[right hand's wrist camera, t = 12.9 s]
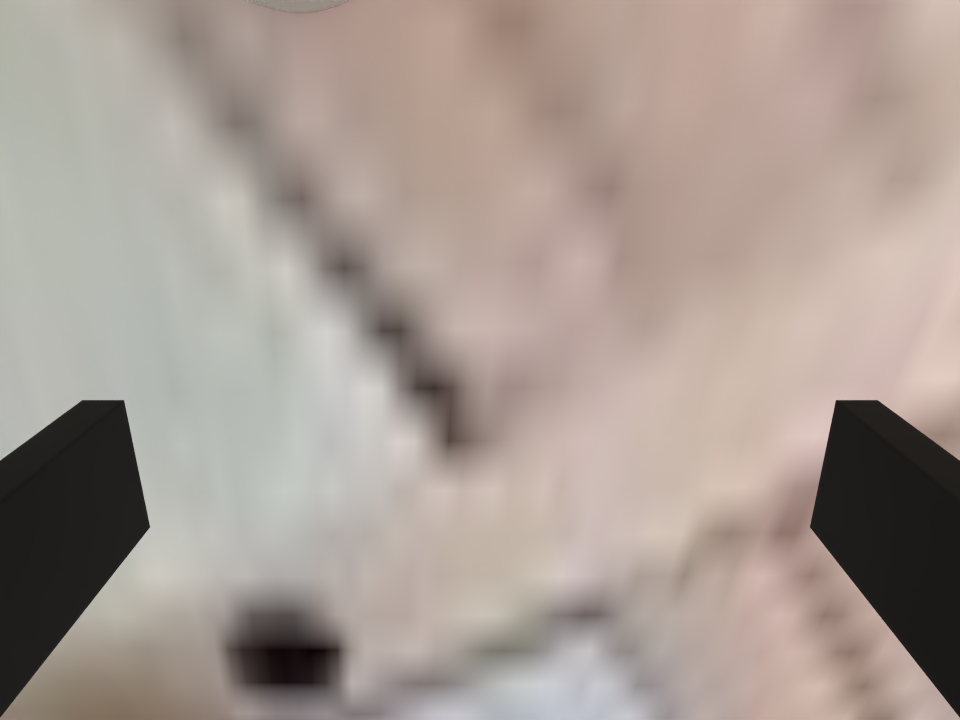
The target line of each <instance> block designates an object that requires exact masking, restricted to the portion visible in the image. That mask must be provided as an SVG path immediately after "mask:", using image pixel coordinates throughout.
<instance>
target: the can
mask: <svg viewBox="0 0 960 720" xmlns="http://www.w3.org/2000/svg"><path fill="white" fill-rule="evenodd" d="M247 1H250V2H253V3H256V4H258V5H261V6H264V7H267V8H271V9H275V10H279V11H286V12H294V13H298V12H314V11H320V10H325V9H328V8H331V7H334V6H337V5H340V4H342V3H344V2H346V1H348V0H247Z"/></svg>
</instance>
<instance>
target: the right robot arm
mask: <svg viewBox="0 0 960 720" xmlns="http://www.w3.org/2000/svg"><path fill="white" fill-rule="evenodd" d="M149 528H150V525H149V520H148V515H147V510H146V505H145V500H144V496H143V491H142V486H141V481H140V476H139V471H138V466H137V462H136V457H135V452H134V447H133V442H132V437H131V432H130V427H129V423H128V418H127V413H126V408H125V403H124V400H82V401H81V402H79V403H78V404H77V405H75V406H74V407H73V408H71V409H70V410H69V411H67V412H66V413H64V414H63V415H62V416H60V417H59V418H58V419H56V420H55V421H54V422H52V423H51V424H50V425H48V426H47V427H45V428H44V429H43V430H41V431H40V432H39V433H37V434H36V435H35V436H33V437H32V438H31V439H29V440H28V441H26V442H25V443H24V444H22V445H21V446H20V447H18V448H17V449H16V450H14V451H13V452H11V453H10V454H9V455H7V456H6V457H5V458H3V459H2V460H1V461H0V717H1V716H2V714H3V713H4V712H5V711H6V709H7V708H8V707H9V706H10V704H11V703H12V702H13V701H14V699H15V698H16V697H17V695H18V694H19V693H20V692H21V690H22V689H23V688H24V687H25V685H26V684H27V683H28V681H29V680H30V679H31V678H32V676H33V675H34V674H35V673H36V671H37V670H38V669H39V667H40V666H41V665H42V664H43V662H44V661H45V660H46V659H47V657H48V656H49V655H50V654H51V652H52V651H53V650H54V648H55V647H56V646H57V645H58V643H59V642H60V641H61V640H62V638H63V637H64V636H65V634H66V633H67V632H68V631H69V629H70V628H71V627H72V626H73V624H74V623H75V622H76V620H77V619H78V618H79V617H80V615H81V614H82V613H83V612H84V610H85V609H86V608H87V607H88V605H89V604H90V603H91V601H92V600H93V599H94V598H95V596H96V595H97V594H98V593H99V591H100V590H101V589H102V587H103V586H104V585H105V584H106V582H107V581H108V580H109V579H110V577H111V576H112V575H113V573H114V572H115V571H116V570H117V568H118V567H119V566H120V565H121V563H122V562H123V561H124V559H125V558H126V557H127V556H128V554H129V553H130V552H131V551H132V549H133V548H134V547H135V546H136V544H137V543H138V542H139V540H140V539H141V538H142V537H143V535H144V534H145V533H146V532H147V530H148V529H149ZM810 528H811V529H812V530H813V532H814V533H815V534H816V535H817V537H818V538H819V539H820V540H821V542H822V543H823V544H824V546H825V547H826V548H827V549H828V551H829V552H830V553H831V554H832V556H833V557H834V558H835V559H836V561H837V562H838V563H839V565H840V566H841V567H842V568H843V570H844V571H845V572H846V573H847V575H848V576H849V577H850V579H851V580H852V581H853V582H854V584H855V585H856V586H857V587H858V589H859V590H860V591H861V593H862V594H863V595H864V596H865V598H866V599H867V600H868V601H869V603H870V604H871V605H872V607H873V608H874V609H875V610H876V612H877V613H878V614H879V615H880V617H881V618H882V619H883V620H884V622H885V623H886V624H887V626H888V627H889V628H890V629H891V631H892V632H893V633H894V634H895V636H896V637H897V638H898V640H899V641H900V642H901V643H902V645H903V646H904V647H905V648H906V650H907V651H908V652H909V654H910V655H911V656H912V657H913V659H914V660H915V661H916V662H917V664H918V665H919V666H920V667H921V669H922V670H923V671H924V673H925V674H926V675H927V676H928V678H929V679H930V680H931V681H932V683H933V684H934V685H935V687H936V688H937V689H938V690H939V692H940V693H941V694H942V695H943V697H944V698H945V699H946V701H947V702H948V703H949V704H950V706H951V707H952V708H953V709H954V711H955V712H956V713H957V714H958V716H959V717H960V461H959V460H958V459H957V458H955V457H954V456H953V455H951V454H950V453H949V452H947V451H946V450H944V449H943V448H942V447H940V446H939V445H938V444H936V443H935V442H934V441H932V440H931V439H929V438H928V437H927V436H925V435H924V434H923V433H921V432H920V431H919V430H917V429H916V428H915V427H913V426H912V425H910V424H909V423H908V422H906V421H905V420H904V419H902V418H901V417H900V416H898V415H897V414H896V413H894V412H893V411H891V410H890V409H889V408H887V407H886V406H885V405H883V404H882V403H881V402H879V401H878V400H836V403H835V408H834V413H833V418H832V423H831V427H830V432H829V437H828V442H827V447H826V452H825V457H824V462H823V466H822V471H821V476H820V481H819V486H818V491H817V496H816V500H815V505H814V510H813V515H812V520H811V525H810Z"/></svg>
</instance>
